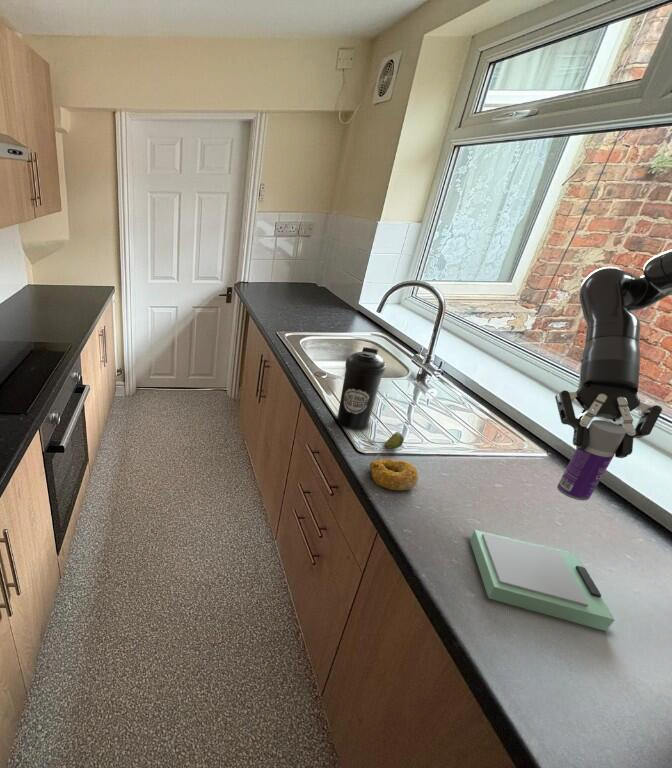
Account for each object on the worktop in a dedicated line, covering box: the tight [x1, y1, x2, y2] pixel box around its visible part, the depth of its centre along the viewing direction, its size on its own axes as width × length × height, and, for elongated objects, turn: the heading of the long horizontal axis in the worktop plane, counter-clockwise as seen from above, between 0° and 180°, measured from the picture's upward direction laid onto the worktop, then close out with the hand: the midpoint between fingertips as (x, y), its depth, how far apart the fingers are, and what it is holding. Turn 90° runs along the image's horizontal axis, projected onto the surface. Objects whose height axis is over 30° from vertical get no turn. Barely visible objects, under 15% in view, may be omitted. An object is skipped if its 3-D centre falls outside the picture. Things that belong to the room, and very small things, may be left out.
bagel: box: [369, 458, 419, 491], centre depth 100 cm, size 10×11×5 cm
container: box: [556, 419, 627, 501], centre depth 76 cm, size 5×5×15 cm
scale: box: [469, 529, 615, 632], centre depth 75 cm, size 16×14×4 cm
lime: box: [384, 431, 405, 450], centre depth 112 cm, size 4×5×5 cm
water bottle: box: [336, 346, 387, 431], centre depth 120 cm, size 10×10×23 cm
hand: (601, 452), depth 74 cm, fingers closed on container, 4 cm apart
